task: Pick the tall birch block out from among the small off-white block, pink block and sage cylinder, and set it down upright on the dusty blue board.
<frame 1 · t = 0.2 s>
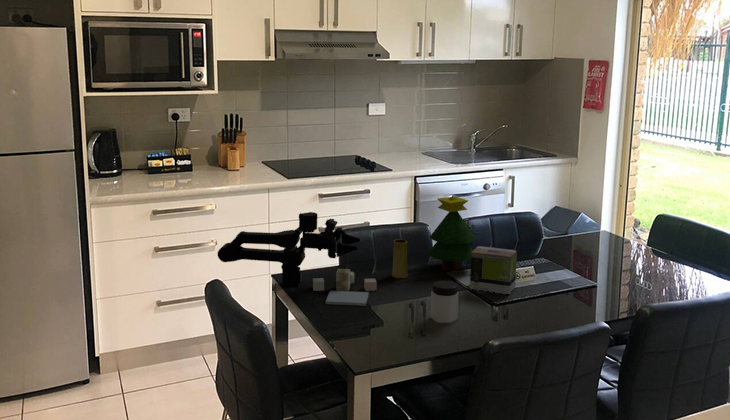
hand: (358, 244, 271), 17 cm above the table, tool horizontal, fingers open, 9 cm apart
blue board: (347, 299, 262), on the table
vase: (399, 276, 287), on the table
tea box: (492, 289, 274), on the table
off-white block: (318, 289, 273), on the table
jar: (443, 319, 245), on the table
pink block: (370, 289, 273), on the table
decorative tree: (451, 269, 297), on the table
sage cylinder: (348, 282, 280), on the table
birch block: (343, 288, 273), on the table
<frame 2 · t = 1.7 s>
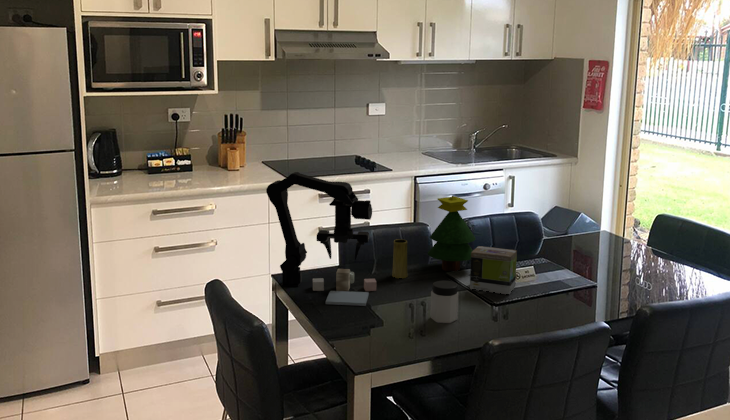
hand: (343, 259, 270), 11 cm above the table, tool pointing down, fingers open, 9 cm apart
nothing on the table moved.
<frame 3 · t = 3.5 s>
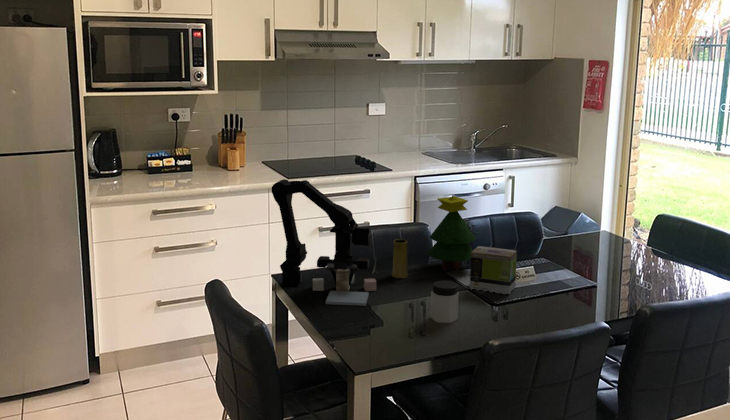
hand: (343, 284, 272), 2 cm above the table, tool pointing down, fingers closed on birch block, 4 cm apart
birch block: (343, 288, 273), on the table, touching gripper
everything else where it was.
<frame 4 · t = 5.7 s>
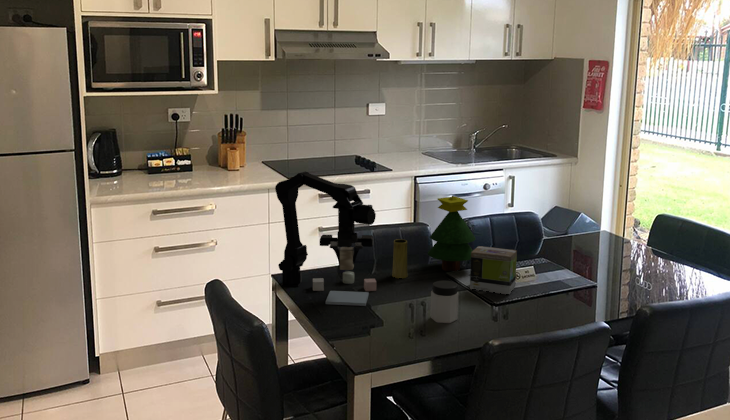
hand: (346, 263, 263), 12 cm above the table, tool pointing down, fingers closed on birch block, 4 cm apart
birch block: (346, 267, 264), point 10 cm above the table, touching gripper
everything else where it was.
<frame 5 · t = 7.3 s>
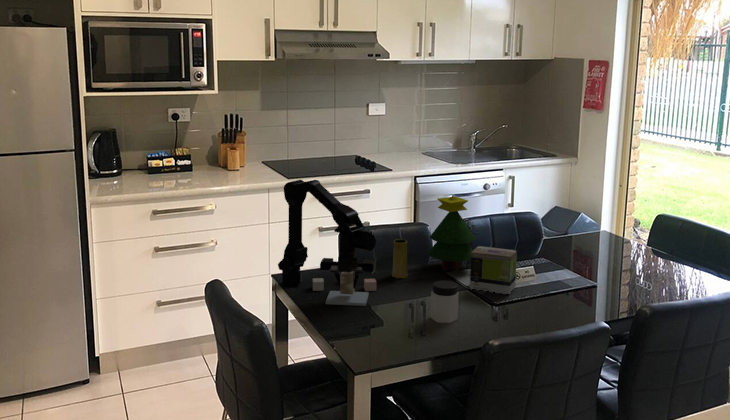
hand: (347, 288, 261), 4 cm above the table, tool pointing down, fingers closed on birch block, 4 cm apart
birch block: (347, 292, 261), point 3 cm above the table, touching gripper
everything else where it was.
when the fingers open (3 cm above the table, at t = 8.2 s): birch block stays where it is, resting on blue board.
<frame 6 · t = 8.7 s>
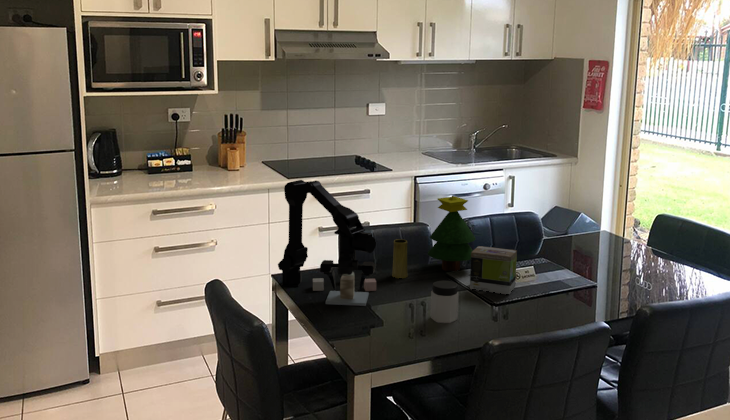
hand: (347, 290, 261), 3 cm above the table, tool pointing down, fingers open, 9 cm apart
birch block: (347, 296, 262), point 1 cm above the table, touching blue board
everything else where it was.
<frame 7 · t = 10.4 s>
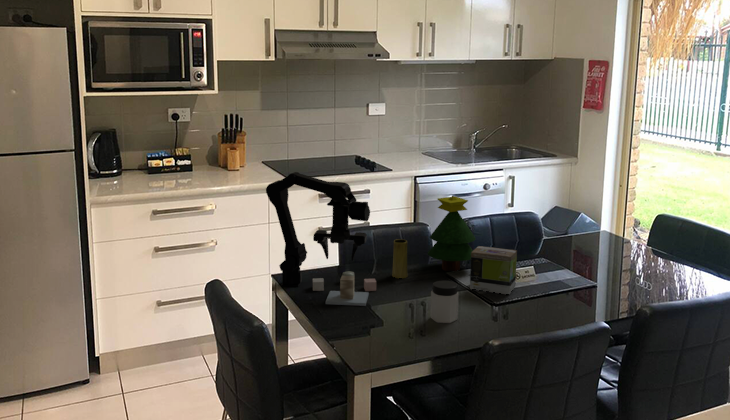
hand: (339, 259, 269), 12 cm above the table, tool pointing down, fingers open, 9 cm apart
nothing on the table moved.
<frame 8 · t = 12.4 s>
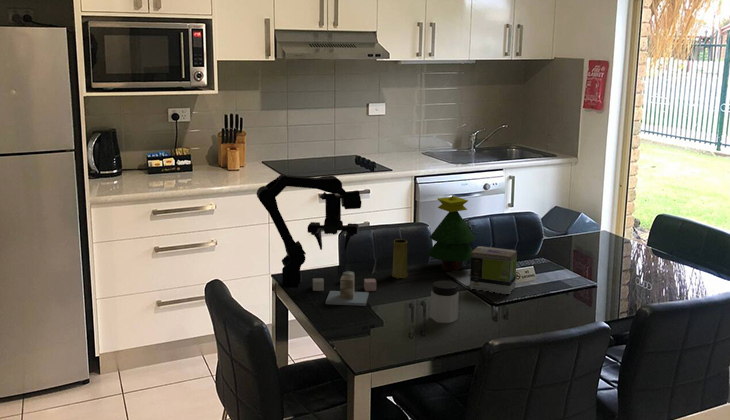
hand: (333, 250, 279), 12 cm above the table, tool pointing down, fingers open, 9 cm apart
nothing on the table moved.
at the end: birch block inside the target area on the blue board (0.0 cm from its centre), point 1.0 cm above the blue board's base; birch block tilted 0°; the gripper is holding nothing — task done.
